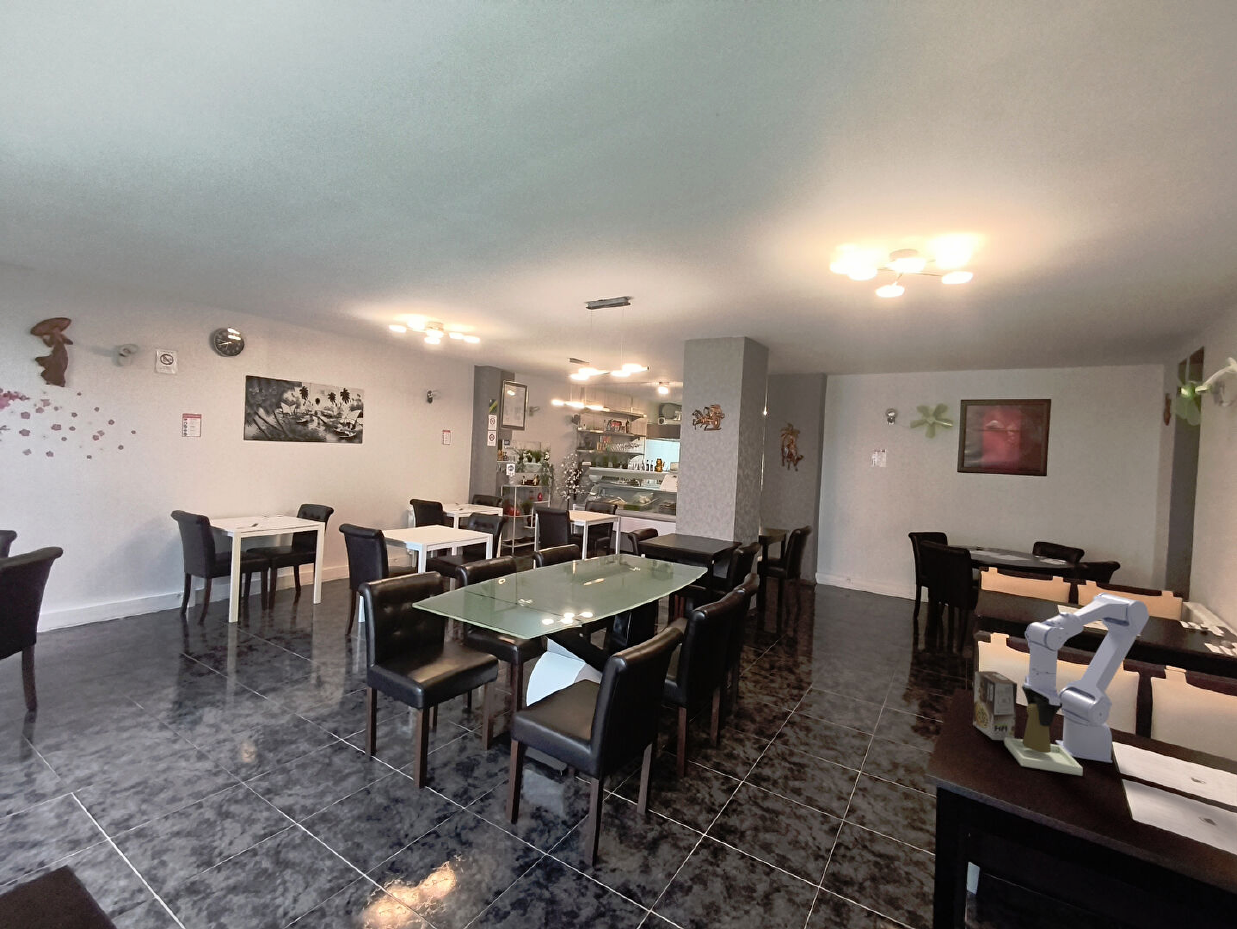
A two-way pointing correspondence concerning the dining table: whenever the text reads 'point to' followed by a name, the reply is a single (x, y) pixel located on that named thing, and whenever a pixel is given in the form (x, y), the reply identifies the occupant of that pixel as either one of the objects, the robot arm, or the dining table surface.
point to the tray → (1043, 757)
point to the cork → (1036, 732)
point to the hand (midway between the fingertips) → (1040, 720)
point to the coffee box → (994, 705)
